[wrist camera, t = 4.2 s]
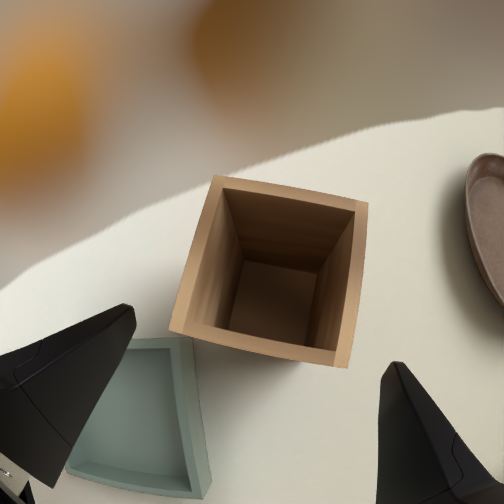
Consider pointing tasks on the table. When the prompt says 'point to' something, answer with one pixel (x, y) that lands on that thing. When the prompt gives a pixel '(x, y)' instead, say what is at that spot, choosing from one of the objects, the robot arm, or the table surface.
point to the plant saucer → (487, 219)
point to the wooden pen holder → (275, 271)
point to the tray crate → (147, 425)
